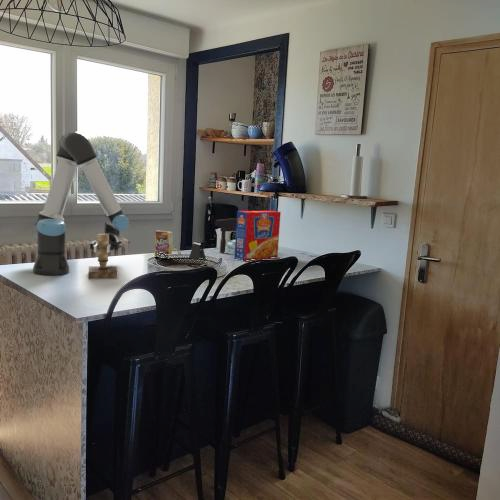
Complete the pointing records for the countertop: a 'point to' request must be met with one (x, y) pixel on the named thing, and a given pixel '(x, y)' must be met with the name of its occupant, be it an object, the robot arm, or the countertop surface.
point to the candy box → (163, 241)
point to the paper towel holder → (225, 226)
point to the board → (102, 272)
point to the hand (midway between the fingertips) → (101, 249)
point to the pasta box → (257, 235)
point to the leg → (103, 249)
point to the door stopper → (197, 251)
